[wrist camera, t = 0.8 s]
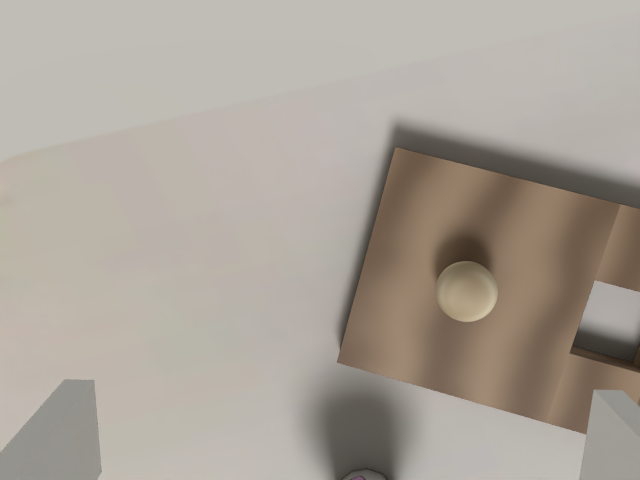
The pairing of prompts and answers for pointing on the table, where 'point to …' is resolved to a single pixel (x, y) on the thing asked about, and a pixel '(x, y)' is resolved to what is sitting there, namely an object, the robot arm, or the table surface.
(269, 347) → the table surface
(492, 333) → the brown wooden flat board
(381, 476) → the cup
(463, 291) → the ball
